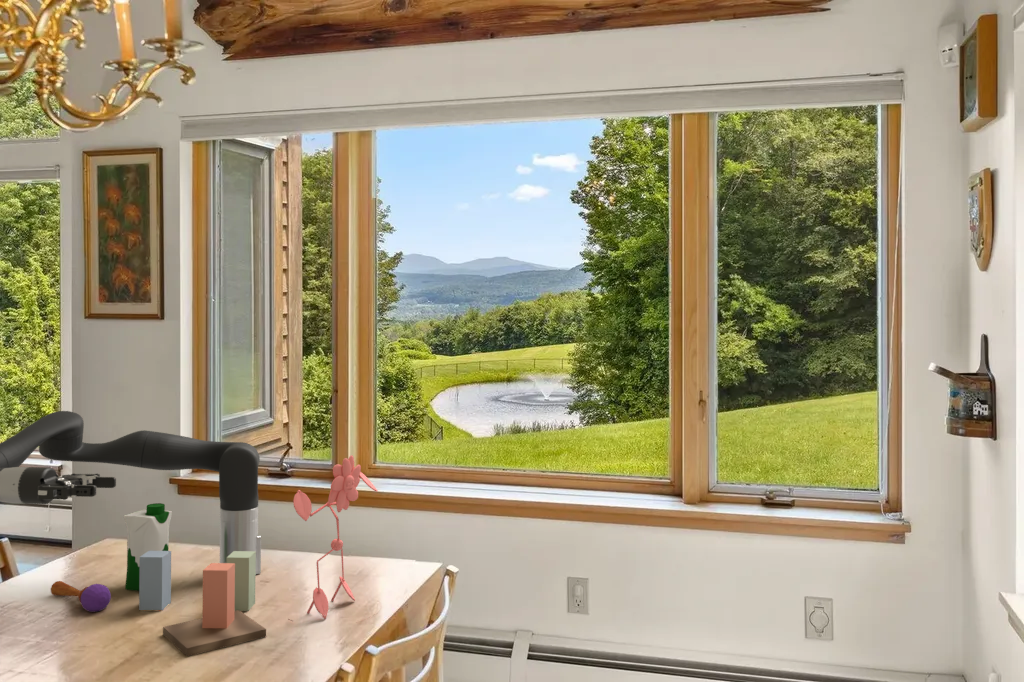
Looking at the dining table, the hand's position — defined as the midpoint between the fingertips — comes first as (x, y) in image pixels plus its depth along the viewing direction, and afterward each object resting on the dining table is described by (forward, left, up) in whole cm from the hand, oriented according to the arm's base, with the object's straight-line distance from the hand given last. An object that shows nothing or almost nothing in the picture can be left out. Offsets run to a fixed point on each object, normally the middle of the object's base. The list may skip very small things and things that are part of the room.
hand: (105, 486), depth 171 cm
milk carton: (-16, -23, -30) cm, 41 cm away
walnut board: (-17, +17, -30) cm, 38 cm away
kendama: (0, -20, -30) cm, 37 cm away
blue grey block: (-13, -8, -30) cm, 33 cm away
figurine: (-45, +21, -30) cm, 58 cm away
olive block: (-28, +4, -30) cm, 41 cm away
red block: (-18, +15, -28) cm, 37 cm away
